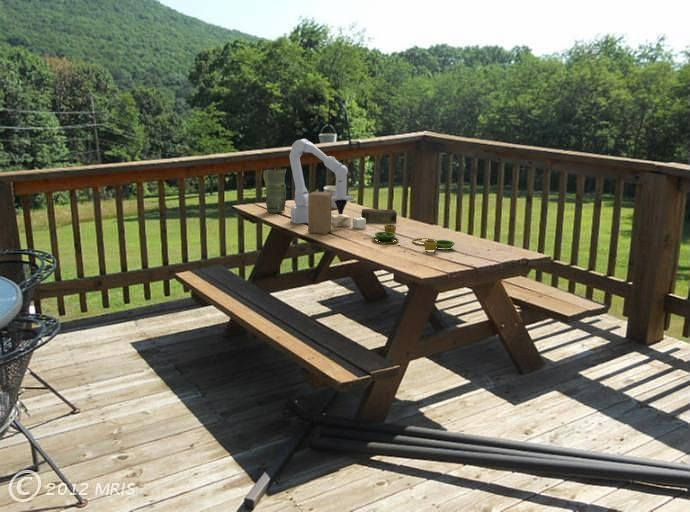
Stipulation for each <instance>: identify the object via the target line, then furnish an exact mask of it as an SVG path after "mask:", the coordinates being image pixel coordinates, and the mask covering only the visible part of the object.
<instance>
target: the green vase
mask: <svg viewBox="0 0 690 512" xmlns="http://www.w3.org/2000/svg"><path fill="white" fill-rule="evenodd" d="M286 171H288V169H287V168H282V169H278V170H277V168H274V169H265V170H262V172H263V173H262V178H263V181H264V185H265V196H266V197H265V200H266V201H265V206H266V209H267V210H266V212H267V213H270V214H271V213H272V214H273V213H274V214H277V213H282V212H285V211H286V203H287V202H286V201H287V194H288V193H287V192H288V191H287V189H286V184H285V181H286V180H285V176H286V173H287V172H286Z"/></svg>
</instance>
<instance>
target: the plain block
mask: <svg viewBox="0 0 690 512" xmlns="http://www.w3.org/2000/svg"><path fill="white" fill-rule="evenodd" d="M351 222H352V217H351V216H349V215H347V214H344V213H343V214H331V225H332V224H333V225H332V226H334V225H335V226H334V227H336V226H344V227H351V226H352V223H351Z"/></svg>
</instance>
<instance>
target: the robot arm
mask: <svg viewBox="0 0 690 512" xmlns="http://www.w3.org/2000/svg"><path fill="white" fill-rule="evenodd" d="M304 153H311V154H313V156H315V157H317V158H318V159H319V160H321V161H322V162H323V164H324V166H325V167H326V168H328V169H329V170H330V171H331V172H333V173H334V175H335V195H334V196H332V199H331V202H334V203H335V205H336V208H337V213H338V215H341V214H344V213H343V212H344V210H345V207H346V205H347V204H348V201H354V199H355V197H354V195H347V186H348V185H347V184H348V182H347V181H348V180H347V177H348V176H347V175H348V173H349V170H348V167H347V165H345V164H343V163H342V162H339V161H338V160H337V159H336V157H335V156H331V155H329V156H327V154H325V153H324V152H323V151H322V150H321V149H319V147H317V146H316V145H315V144H314V143H313V142H311V141H309V140H308V139H307V138H302V139H297V140H295V141H294V142H293V144H292V145H291V150H290V153H289V156H288V157H289V162H290V166H291V171H292V172H291V173H292V177H293V182H294V187H295V190H294V204H295V205H294V206H291V207H290V222H291V223H294V224H299V225H300V224H308V195H309V194H310V193H309V192H308V189H307V187H306V184H305V179H304V175H303V168H302V164H301V163H302V162H301V159H300V158H301V156H302V155H303V154H304Z"/></svg>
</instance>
